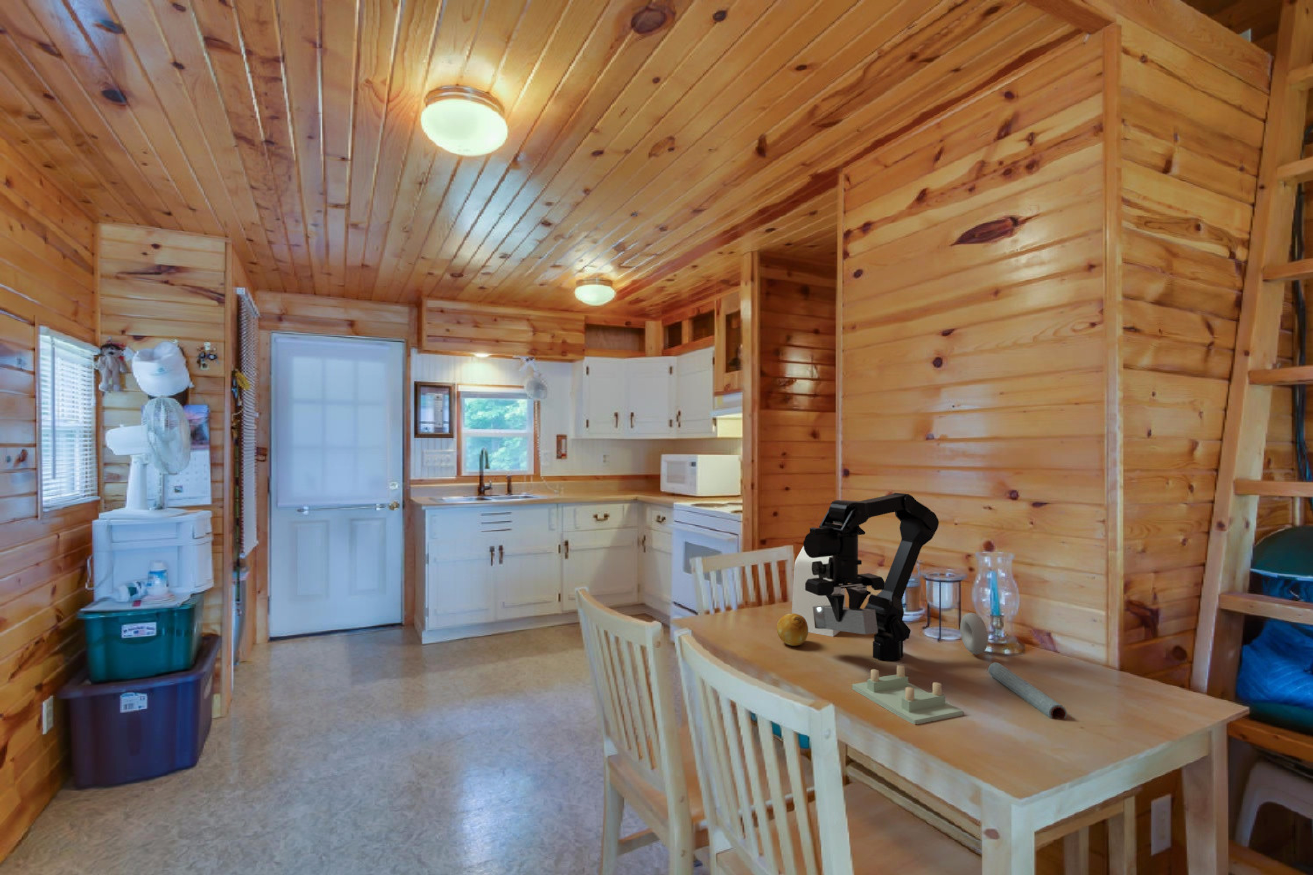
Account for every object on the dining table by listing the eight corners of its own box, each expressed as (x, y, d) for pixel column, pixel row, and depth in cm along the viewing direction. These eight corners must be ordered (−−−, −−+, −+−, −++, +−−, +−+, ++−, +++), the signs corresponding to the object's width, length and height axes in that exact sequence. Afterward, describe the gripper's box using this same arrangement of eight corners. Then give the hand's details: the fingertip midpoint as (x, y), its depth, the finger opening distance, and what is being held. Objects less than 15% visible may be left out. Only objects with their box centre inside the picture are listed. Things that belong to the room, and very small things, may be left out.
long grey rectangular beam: (828, 625, 157) (826, 604, 158) (881, 632, 139) (878, 609, 140) (810, 627, 155) (808, 606, 156) (861, 634, 137) (858, 611, 138)
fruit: (812, 650, 158) (812, 618, 158) (779, 649, 158) (779, 618, 158) (804, 639, 166) (805, 609, 166) (774, 639, 166) (774, 609, 166)
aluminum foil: (987, 677, 141) (987, 661, 141) (1017, 677, 141) (1017, 662, 141) (1049, 722, 119) (1049, 704, 119) (1084, 723, 118) (1084, 705, 118)
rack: (897, 681, 137) (897, 658, 137) (963, 715, 121) (963, 689, 121) (852, 688, 133) (852, 665, 133) (914, 725, 116) (914, 698, 116)
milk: (790, 628, 175) (791, 536, 175) (806, 618, 184) (806, 531, 184) (832, 636, 168) (833, 540, 168) (846, 626, 178) (846, 534, 178)
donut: (957, 646, 160) (957, 607, 160) (971, 646, 160) (971, 607, 160) (976, 660, 150) (976, 619, 150) (990, 660, 150) (990, 619, 150)
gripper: (855, 546, 157) (855, 608, 157) (792, 550, 151) (791, 615, 151) (886, 554, 147) (886, 620, 147) (819, 559, 140) (819, 628, 140)
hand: (845, 620), depth 146 cm, fingers closed on long grey rectangular beam, 3 cm apart
